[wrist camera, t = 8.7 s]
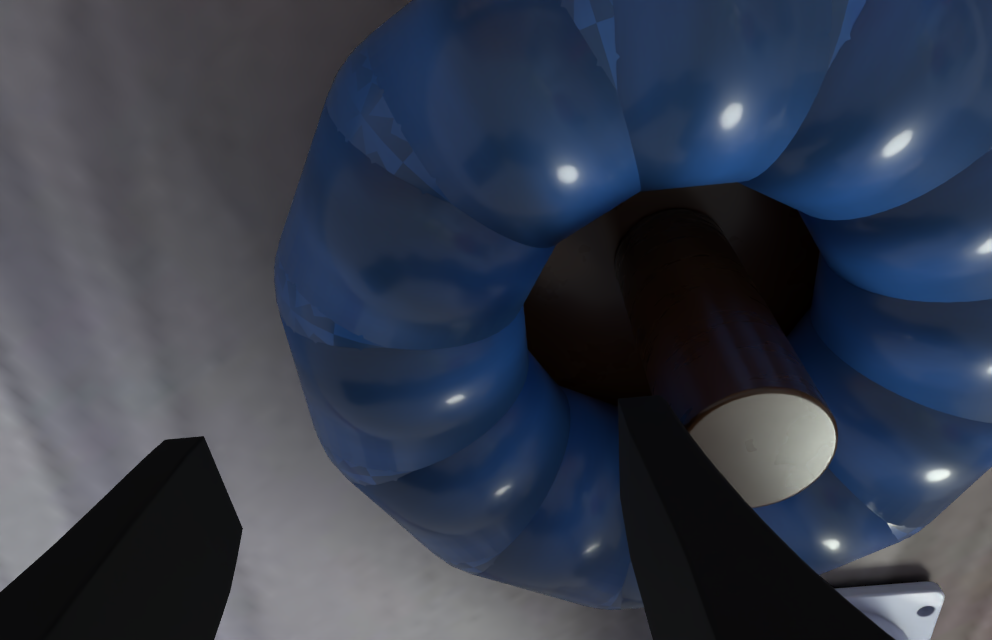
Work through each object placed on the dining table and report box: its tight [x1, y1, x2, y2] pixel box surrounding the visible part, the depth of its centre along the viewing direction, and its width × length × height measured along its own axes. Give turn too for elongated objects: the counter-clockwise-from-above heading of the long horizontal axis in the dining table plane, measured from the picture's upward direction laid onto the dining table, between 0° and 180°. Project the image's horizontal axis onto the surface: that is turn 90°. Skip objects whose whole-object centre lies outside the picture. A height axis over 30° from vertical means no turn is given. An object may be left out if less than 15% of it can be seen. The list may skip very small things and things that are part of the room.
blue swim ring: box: [274, 0, 992, 610], centre depth 14 cm, size 14×14×4 cm
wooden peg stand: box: [524, 182, 838, 508], centre depth 14 cm, size 10×10×7 cm
